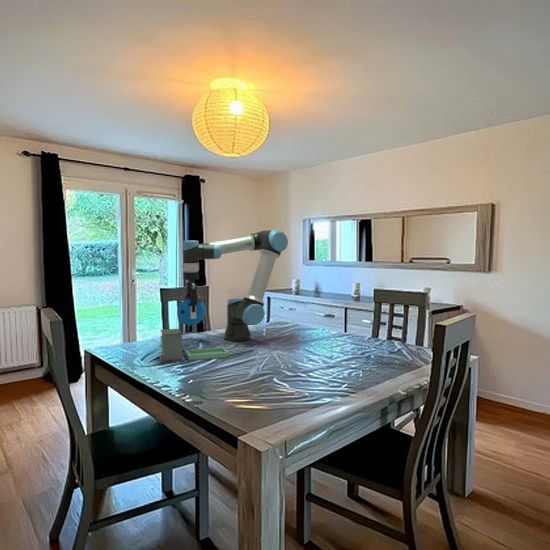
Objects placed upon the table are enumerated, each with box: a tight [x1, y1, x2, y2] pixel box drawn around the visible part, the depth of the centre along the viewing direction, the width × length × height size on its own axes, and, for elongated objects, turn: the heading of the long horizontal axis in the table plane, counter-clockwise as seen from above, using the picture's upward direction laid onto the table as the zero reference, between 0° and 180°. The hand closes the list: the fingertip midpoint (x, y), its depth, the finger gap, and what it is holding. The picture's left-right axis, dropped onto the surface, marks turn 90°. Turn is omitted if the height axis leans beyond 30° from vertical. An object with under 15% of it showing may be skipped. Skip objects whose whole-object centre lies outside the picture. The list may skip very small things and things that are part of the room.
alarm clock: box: [176, 294, 207, 326], centre depth 204 cm, size 13×6×15 cm, turn 90°
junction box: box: [158, 328, 186, 364], centre depth 190 cm, size 10×12×13 cm
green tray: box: [184, 346, 230, 362], centre depth 196 cm, size 19×11×2 cm, turn 111°
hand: (191, 317), depth 204 cm, fingers closed on alarm clock, 8 cm apart
